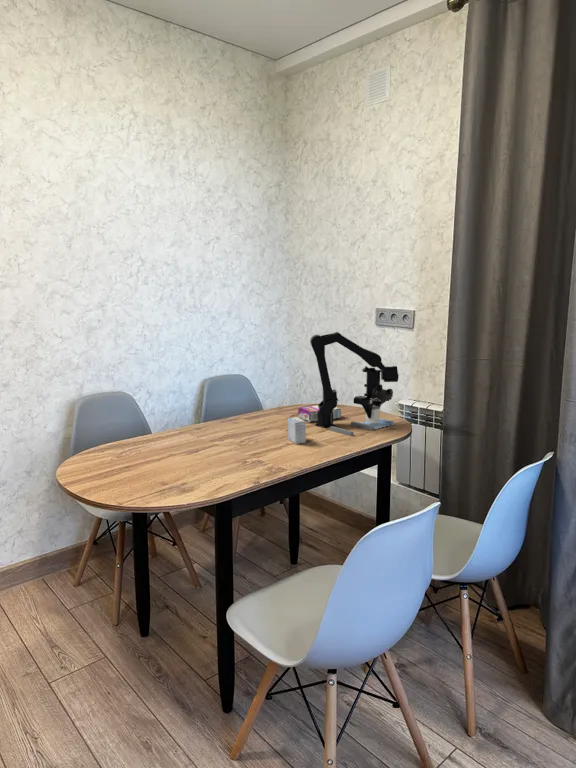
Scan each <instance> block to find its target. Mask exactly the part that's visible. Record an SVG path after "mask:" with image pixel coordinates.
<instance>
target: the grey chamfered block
mask: <svg viewBox="0 0 576 768" xmlns="http://www.w3.org/2000/svg"><path fill="white" fill-rule="evenodd" d="M380 419H381V407H380V406H376V405H373V406H372V413H371V418H368V416H367V414H366V413H365V421H366V422H370V423H378V422H380Z"/></svg>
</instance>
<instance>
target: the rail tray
mask: <svg viewBox="0 0 576 768" xmlns="http://www.w3.org/2000/svg"><path fill="white" fill-rule="evenodd" d="M394 424H395V421H393V420H389V419H383V418H380V422H378V423H370V422H366V420H365V421H361V422H358V421H354V420H353V421H350V426H352V427H356V428H361V429H364V430H368V429H369V430H368V431H375V430H374V429H376V430H379V429H378V428H380V429H383V428H382V427H384V428H387V427H386V426H388V427H391V426H394ZM390 425H391V426H390ZM329 431H331V432H334V433H335V432H336V433H339V434H343V435H346V436H349V437H352V436H354V431H352V430H348V429H344V428H340V427H336V426H331V427H329Z"/></svg>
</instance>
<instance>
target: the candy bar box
mask: <svg viewBox="0 0 576 768" xmlns="http://www.w3.org/2000/svg"><path fill="white" fill-rule="evenodd" d="M318 412H319V408H318V405H312V406H302V407H298V411H297V413H298V415H297V417H298V418H300V419H302V420H304V421H305V422H309V423H314V422H318ZM341 414H342V409H341V408H340V407H338V406H336V407H335V408H334V409H333V420H337V419H341V417H342V415H341Z"/></svg>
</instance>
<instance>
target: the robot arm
mask: <svg viewBox="0 0 576 768" xmlns="http://www.w3.org/2000/svg"><path fill="white" fill-rule="evenodd" d="M309 341H310V345H311V348H312V351H313V353H314V355H315V358H316V362H317V368H318V373H319V377H320V382H321V387H322V401H320V402H319V403H318V405H317V406H318V408H319V412H318V421H317V422H316V423H315V424H314V425H315V426H317V427H321V428H325V429H326V428H330V427H331V426H334V427H336V423H334V419H333V409H334V408H335V407H338V402H339V399H338V392H337V390H336V389H335V388H334V389H333V388H332V383H331V379H330V375H329V370H328V365H327V360H326V346H328V345H331V344H335V343H338V345H341V346H342V347H344V348H346V349H347V350H349V351H351V352H352V353H354V354H356V356H359V357H360V358H361V359H362V360H363V362H365V363H367V365H369V366H370V367H368V366H366V365H365V366H364V368H362V369H361V372H363V373H366V383H365V384H363V386H364V387H365V388H366V389H365V390H366V391H365V392H366V393H363V395H357V396H354V397H353V404H355V405H356V404H357V405H361V406H362V407H363V410H364V412H365V415H366V414H367V416H368V418H371V413H372V406H373V405H376V406H380V408H381V407H382V405H383V404H385V403H386V402H389V401H390V400H392V398H393V396H394V391H393V389H391V388H387V389H384V388H383V384H381V380H383V382H384V383H398V381H399V376H400V375H399V372H398V366H397V365H393V366H391V365H390V366H385V365H384V364H383V362H382V357H381V356H380V355H379V354H378V353H376V352H375V351H372V350H369V349H368V348H367V349H366V348H364V347H362V346H360V345H359V344H357V343H355V342H354V341H352V340H351V339H349V338H347V337H346V336H344V335H342V333H340V332H338V331H335V332H333V333H327V334H323V335H320V334H314V335H312V336H311V337H310V340H309ZM376 368H378V369H376Z"/></svg>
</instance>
